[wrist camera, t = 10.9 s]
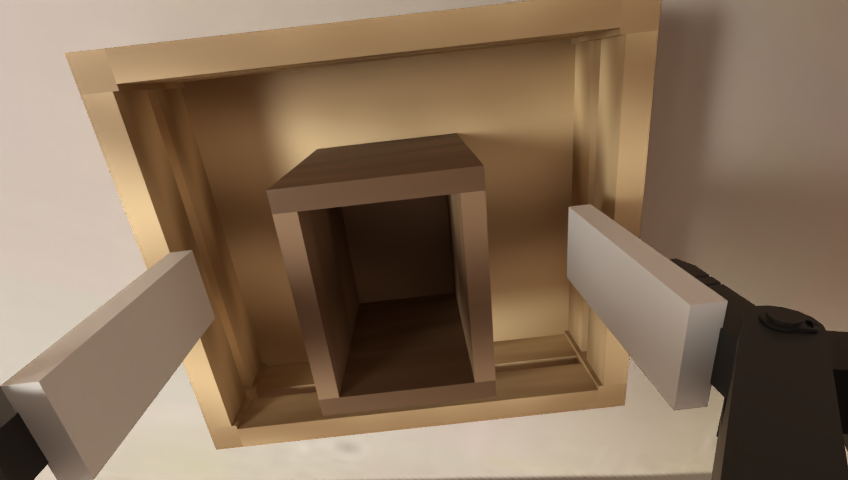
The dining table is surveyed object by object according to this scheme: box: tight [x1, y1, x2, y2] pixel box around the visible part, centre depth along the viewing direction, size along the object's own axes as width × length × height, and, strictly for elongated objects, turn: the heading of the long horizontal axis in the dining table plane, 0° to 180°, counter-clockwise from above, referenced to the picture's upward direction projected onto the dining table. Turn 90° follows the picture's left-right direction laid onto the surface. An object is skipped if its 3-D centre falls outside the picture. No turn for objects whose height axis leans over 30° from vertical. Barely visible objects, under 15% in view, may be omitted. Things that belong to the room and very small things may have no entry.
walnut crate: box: [266, 133, 497, 416], centre depth 16 cm, size 8×6×7 cm
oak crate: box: [65, 0, 661, 449], centre depth 18 cm, size 16×18×5 cm
